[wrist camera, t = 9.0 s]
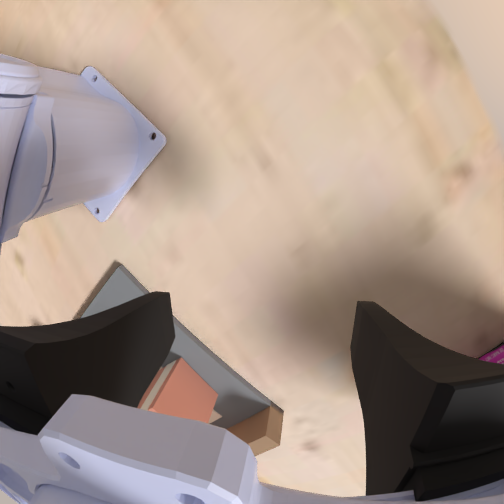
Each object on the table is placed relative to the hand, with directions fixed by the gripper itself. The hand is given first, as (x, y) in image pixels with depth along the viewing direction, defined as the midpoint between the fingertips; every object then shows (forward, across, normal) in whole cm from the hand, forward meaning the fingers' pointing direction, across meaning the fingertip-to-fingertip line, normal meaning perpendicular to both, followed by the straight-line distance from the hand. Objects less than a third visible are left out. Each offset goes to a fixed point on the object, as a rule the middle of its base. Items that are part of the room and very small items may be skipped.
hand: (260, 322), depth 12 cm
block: (+9, +10, +13) cm, 19 cm away
